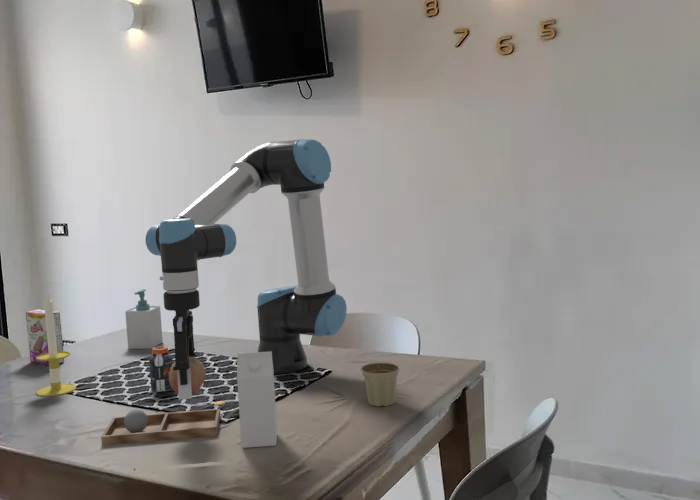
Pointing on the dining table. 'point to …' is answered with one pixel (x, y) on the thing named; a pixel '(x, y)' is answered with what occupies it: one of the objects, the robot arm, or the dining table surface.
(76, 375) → the dining table surface
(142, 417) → the grey ball
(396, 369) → the flower pot
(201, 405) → the tile
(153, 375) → the pill bottle
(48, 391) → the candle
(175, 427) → the divided wooden tray
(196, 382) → the fruit
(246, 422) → the milk carton
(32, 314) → the candy bar box
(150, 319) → the soap bottle
